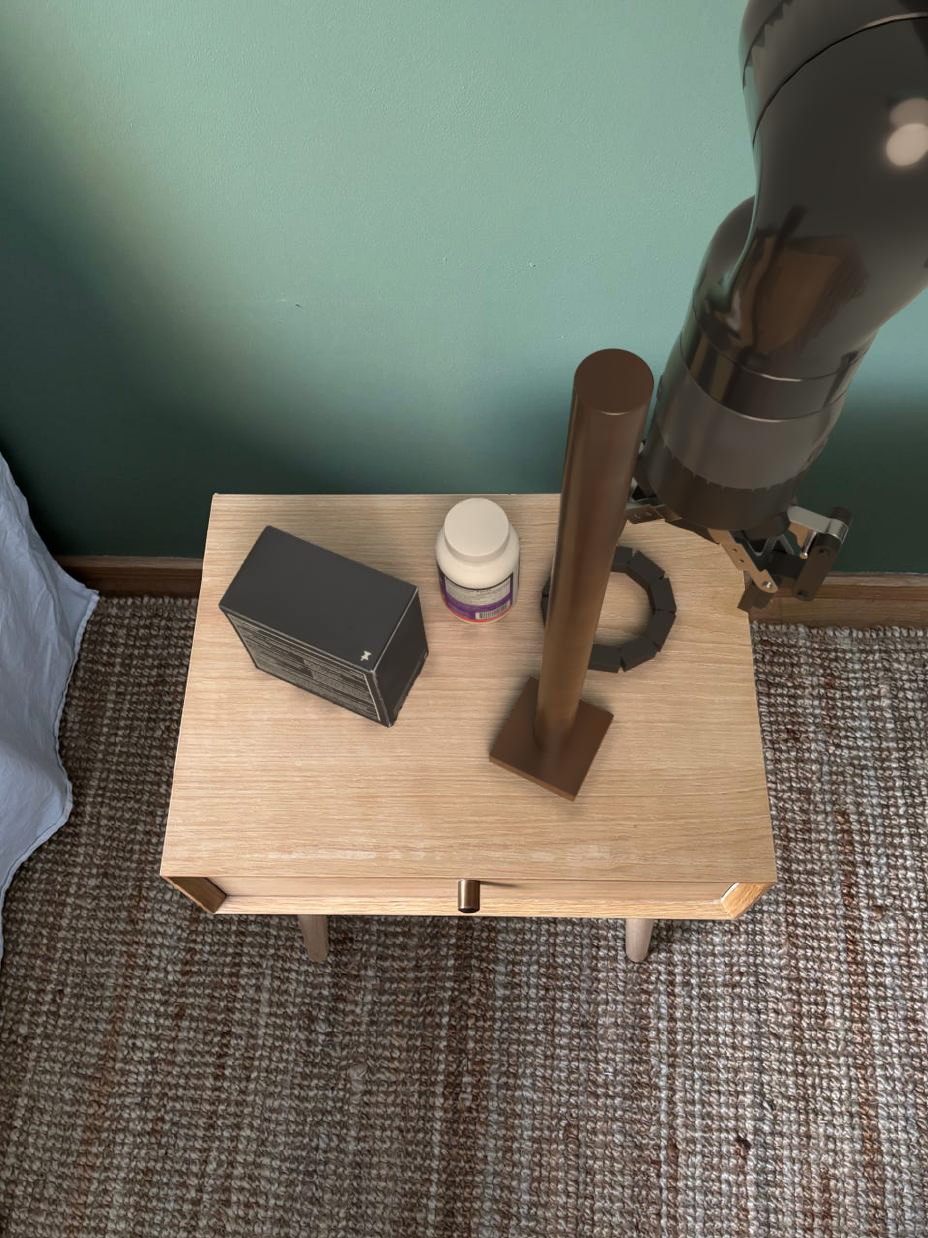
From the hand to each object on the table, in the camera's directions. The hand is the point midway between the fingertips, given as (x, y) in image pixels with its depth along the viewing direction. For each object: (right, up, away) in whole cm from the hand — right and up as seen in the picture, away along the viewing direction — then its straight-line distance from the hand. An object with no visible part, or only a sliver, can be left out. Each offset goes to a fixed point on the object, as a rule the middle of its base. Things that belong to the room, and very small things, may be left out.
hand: (679, 567), depth 61 cm
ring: (-3, -2, +10) cm, 11 cm away
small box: (-21, -6, +10) cm, 24 cm away
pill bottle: (-12, -1, +11) cm, 16 cm away
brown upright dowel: (-7, -11, +7) cm, 15 cm away
